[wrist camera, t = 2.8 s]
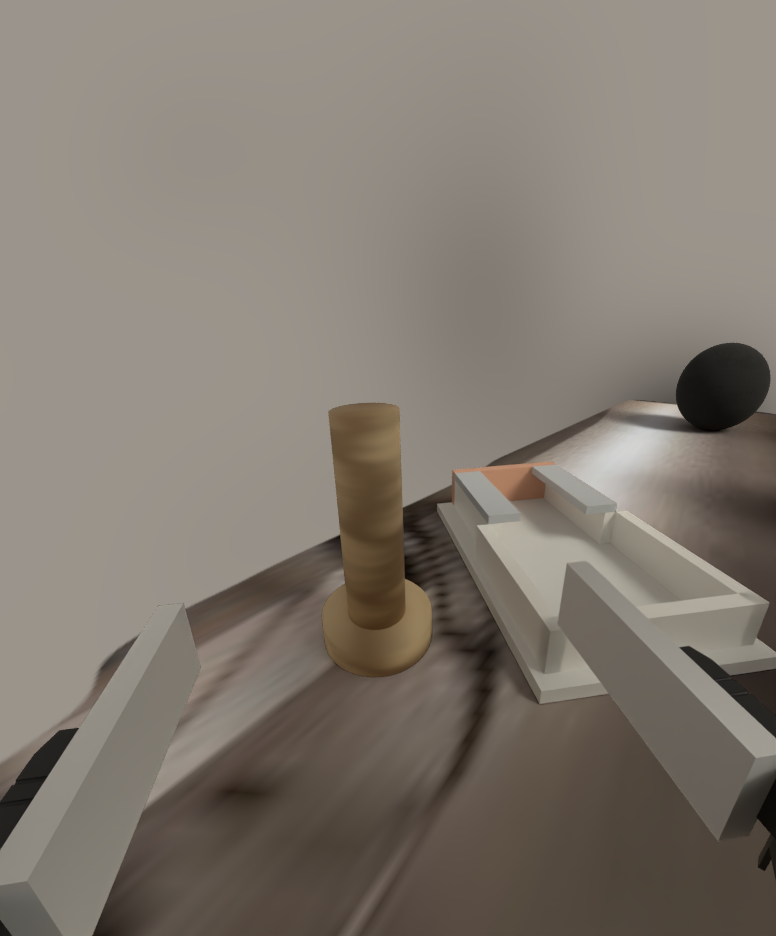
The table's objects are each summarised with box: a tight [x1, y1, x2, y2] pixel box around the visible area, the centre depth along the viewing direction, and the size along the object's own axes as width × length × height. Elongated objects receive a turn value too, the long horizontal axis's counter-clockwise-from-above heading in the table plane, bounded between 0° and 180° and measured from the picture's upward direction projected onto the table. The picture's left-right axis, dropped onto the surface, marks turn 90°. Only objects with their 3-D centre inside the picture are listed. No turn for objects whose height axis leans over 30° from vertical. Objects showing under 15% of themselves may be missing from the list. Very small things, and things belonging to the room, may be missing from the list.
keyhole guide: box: [437, 462, 776, 704], centre depth 33 cm, size 15×24×5 cm, turn 7°
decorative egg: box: [676, 343, 770, 430], centre depth 67 cm, size 12×12×15 cm
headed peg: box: [322, 403, 432, 677], centre depth 24 cm, size 8×8×16 cm
